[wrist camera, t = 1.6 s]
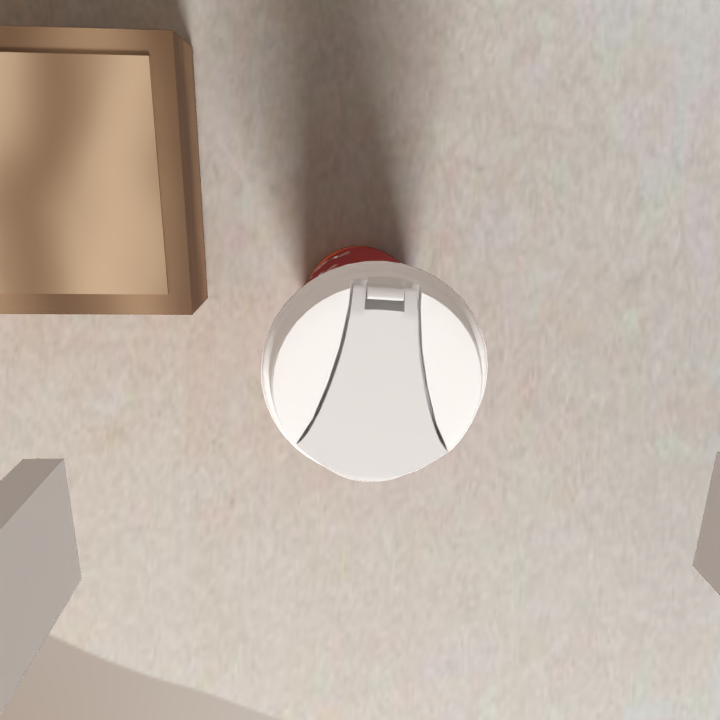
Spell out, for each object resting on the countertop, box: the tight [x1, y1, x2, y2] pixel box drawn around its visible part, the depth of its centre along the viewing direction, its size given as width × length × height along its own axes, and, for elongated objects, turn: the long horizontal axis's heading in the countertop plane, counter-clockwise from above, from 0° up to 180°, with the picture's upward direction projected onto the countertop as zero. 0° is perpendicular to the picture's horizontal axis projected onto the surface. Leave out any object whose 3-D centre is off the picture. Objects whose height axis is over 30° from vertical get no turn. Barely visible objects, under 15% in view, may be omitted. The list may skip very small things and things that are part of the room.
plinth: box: [0, 26, 208, 315], centre depth 28 cm, size 12×12×4 cm
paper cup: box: [261, 246, 488, 482], centre depth 26 cm, size 8×8×14 cm
